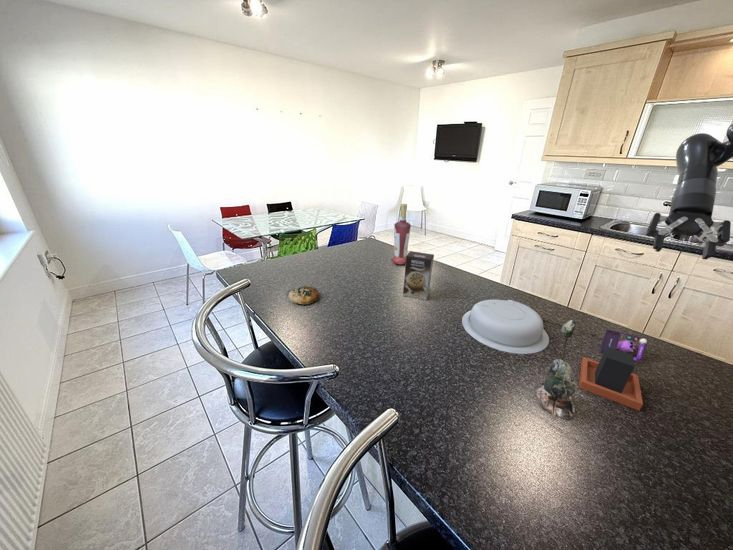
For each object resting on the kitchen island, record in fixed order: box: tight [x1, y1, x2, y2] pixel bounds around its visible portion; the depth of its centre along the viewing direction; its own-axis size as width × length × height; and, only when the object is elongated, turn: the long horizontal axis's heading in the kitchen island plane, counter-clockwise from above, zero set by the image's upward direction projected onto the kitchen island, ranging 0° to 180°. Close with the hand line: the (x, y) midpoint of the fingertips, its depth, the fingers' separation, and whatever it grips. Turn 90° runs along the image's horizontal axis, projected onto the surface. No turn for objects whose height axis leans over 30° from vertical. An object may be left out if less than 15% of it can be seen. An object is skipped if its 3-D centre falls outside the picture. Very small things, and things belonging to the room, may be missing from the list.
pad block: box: [595, 347, 636, 393], centre depth 69 cm, size 5×5×8 cm
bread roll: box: [288, 285, 320, 306], centre depth 106 cm, size 11×11×5 cm
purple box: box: [599, 328, 650, 364], centre depth 81 cm, size 7×5×9 cm
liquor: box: [392, 203, 412, 266], centre depth 134 cm, size 7×7×28 cm
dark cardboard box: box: [402, 250, 435, 301], centre depth 108 cm, size 9×6×16 cm
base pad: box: [578, 356, 644, 412], centre depth 70 cm, size 11×11×2 cm
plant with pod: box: [534, 319, 578, 420], centre depth 61 cm, size 8×11×20 cm
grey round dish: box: [461, 299, 550, 355], centre depth 91 cm, size 25×25×6 cm
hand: (681, 254), depth 72 cm, fingers open, 8 cm apart
